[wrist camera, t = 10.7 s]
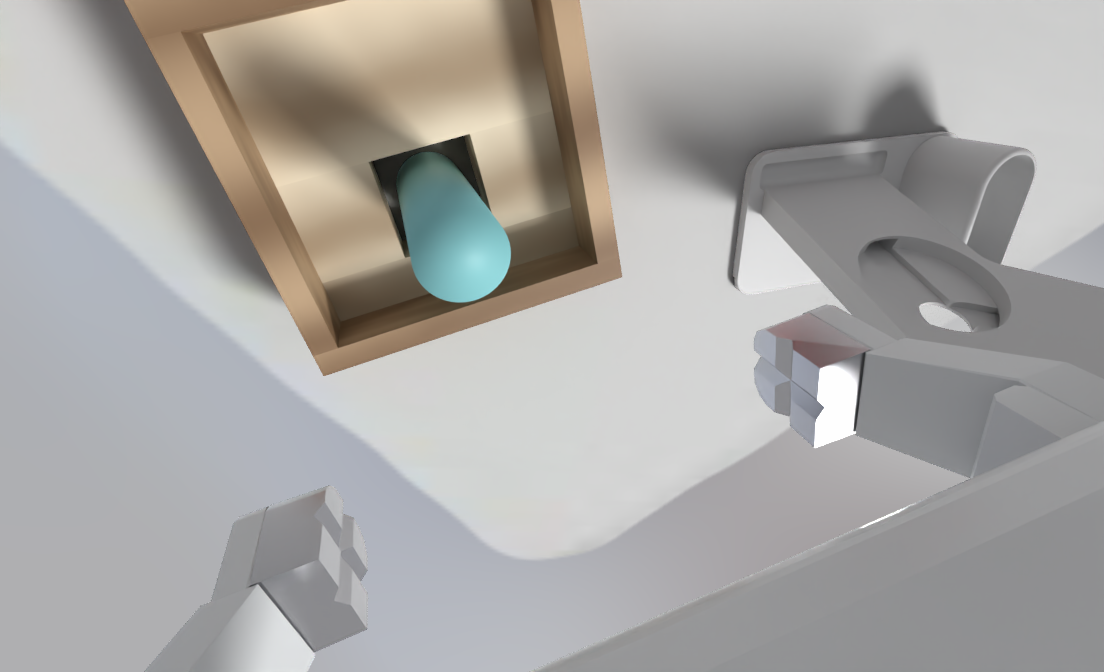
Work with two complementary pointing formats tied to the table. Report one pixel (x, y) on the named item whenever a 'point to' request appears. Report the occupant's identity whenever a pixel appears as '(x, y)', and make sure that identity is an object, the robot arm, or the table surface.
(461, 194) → the peg
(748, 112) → the table surface
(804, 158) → the phone holder
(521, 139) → the box
